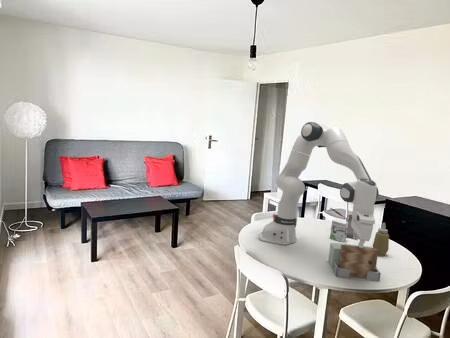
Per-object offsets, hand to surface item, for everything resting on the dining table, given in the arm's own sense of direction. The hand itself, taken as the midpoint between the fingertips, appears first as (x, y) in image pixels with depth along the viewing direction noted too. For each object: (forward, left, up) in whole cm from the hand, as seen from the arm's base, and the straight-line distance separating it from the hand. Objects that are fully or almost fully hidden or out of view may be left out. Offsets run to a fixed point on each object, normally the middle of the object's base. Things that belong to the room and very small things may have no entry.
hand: (357, 243), depth 153 cm
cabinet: (+1, +6, -16) cm, 18 cm away
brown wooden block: (+1, +1, -16) cm, 17 cm away
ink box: (+3, +48, -17) cm, 51 cm away
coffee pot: (+9, +60, -17) cm, 63 cm away
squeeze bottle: (+22, +31, -17) cm, 42 cm away
